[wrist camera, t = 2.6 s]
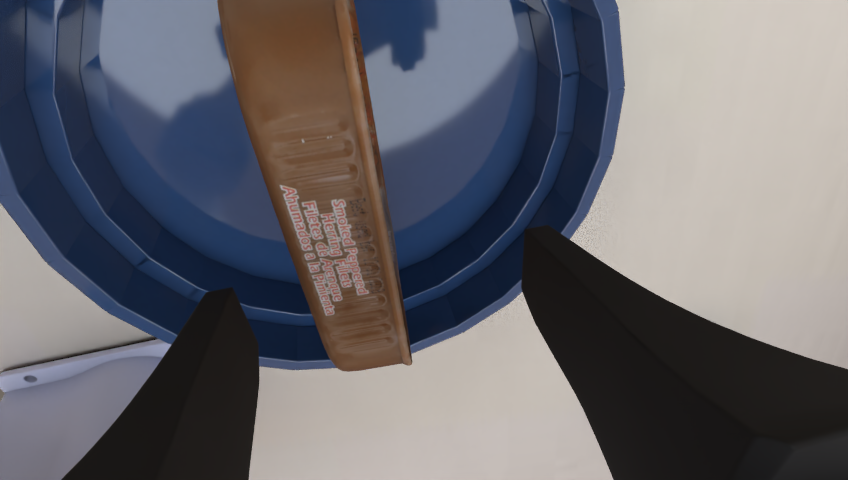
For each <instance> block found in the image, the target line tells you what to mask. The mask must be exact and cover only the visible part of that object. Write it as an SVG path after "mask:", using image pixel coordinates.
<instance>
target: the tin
mask: <svg viewBox="0 0 848 480" xmlns="http://www.w3.org/2000/svg"><path fill="white" fill-rule="evenodd" d="M217 3H218V11H219V17H220V23H221V28H222V34H223V39H224V44H225V49H226V54H227V58H228V62H229V66H230V70H231V74H232V78H233V82H234V86H235V90H236V94H237V98H238V101H239V105H240V109H241V112H242V115H243V118H244V122H245V125H246V128H247V131H248V134H249V137H250V140H251V143H252V147H253V149H254V152H255V155H256V158H257V160H258V163H259V166H260V169H261V172H262V175H263V178H264V181H265V184H266V187H267V190H268V193H269V196H270V199H271V202H272V205H273V208H274V211H275V213H276V216H277V218H278V221H279V224H280V228H281V230H282V233H283V236H284V239H285V242H286V245H287V248H288V250H289V253H290V256H291V258H292V261H293V264H294V266H295V269H296V272H297V275H298V278H299V281H300V283H301V286H302V289H303V292H304V294H305V297H306V300H307V302H308V305H309V308H310V311H311V314H312V316H313V318H314V321H315V324H316V327H317V329H318V332H319V335H320V337H321V340H322V343H323V345H324V348H325V350H326V352H327V354H328V356H329V358H330V360H331V361H332V363H333V364H334V365H335V366H336V367H337V368H338V369H340V370H342V371H359V370H366V369H372V368H377V367H383V366H389V365H395V364H402V363H403V364H405V365H411V364H412V356H411V350H410V341H409V335H408V328H407V321H406V316H405V308H404V302H403V296H402V290H401V284H400V278H399V270H398V262H397V253H396V245H395V239H394V233H393V228H392V222H391V216H390V211H389V207H388V199H387V193H386V187H385V180H384V175H383V169H382V162H381V157H380V151H379V145H378V139H377V134H376V127H375V121H374V116H373V110H372V103H371V98H370V92H369V85H368V79H367V74H366V68H365V61H364V55H363V50H362V44H361V39H360V33H359V27H358V21H357V15H356V9H355V4H354V0H217Z"/></svg>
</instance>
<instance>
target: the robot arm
mask: <svg viewBox="0 0 848 480" xmlns="http://www.w3.org/2000/svg"><path fill="white" fill-rule="evenodd" d="M521 289H522V292H523V294H524V297H525V299H526V302H527V304H528V307H529V309H530V312H531V314H532V316H533V319H534V321H535V323H536V325H537V327H538V329H539V331H540V332H541V334H542V336H543V338H544V339H545V341H546V343H547V345H548V347H549V348H550V350H551V352H552V354H553V355H554V357H555V359H556V361H557V362H558V364H559V366H560V368H561V369H562V371H563V373H564V375H565V376H566V378H567V380H568V382H569V383H570V385H571V387H572V389H573V390H574V392H575V394H576V396H577V398H578V400H579V402H580V404H581V406H582V408H583V409H584V412H585V414H586V416H587V418H588V421H589V423H590V425H591V427H592V430H593V432H594V434H595V436H596V439H597V441H598V443H599V445H600V448H601V450H602V453H603V455H604V457H605V460H606V462H607V465H608V467H609V469H610V472H611V474H612V477H613V479H614V480H848V369H845V368H841V367H838V366H834V365H831V364H827V363H824V362H820V361H817V360H813V359H810V358H807V357H804V356H801V355H798V354H795V353H792V352H789V351H786V350H783V349H780V348H777V347H774V346H772V345H769V344H766V343H763V342H761V341H758V340H755V339H753V338H750V337H747V336H745V335H742V334H740V333H737V332H735V331H733V330H730V329H728V328H725V327H723V326H720V325H718V324H716V323H713V322H711V321H709V320H707V319H704V318H702V317H700V316H698V315H696V314H694V313H692V312H690V311H687V310H685V309H683V308H681V307H679V306H677V305H675V304H673V303H671V302H669V301H667V300H665V299H663V298H662V297H660V296H658V295H656V294H654V293H652V292H651V291H649V290H647V289H646V288H644V287H642V286H640V285H639V284H637V283H635V282H633V281H632V280H630V279H628V278H627V277H625V276H623V275H622V274H620V273H619V272H617V271H615V270H614V269H612V268H611V267H609V266H608V265H606V264H605V263H603V262H602V261H600V260H599V259H597V258H596V257H594V256H593V255H591V254H590V253H588V252H587V251H585V250H584V249H582V248H581V247H579V246H578V245H577V244H575V243H574V242H572V241H571V240H569V239H568V238H566V237H565V236H564V235H562V234H561V233H559V232H558V231H556V230H555V229H553V228H552V227H550V226H549V225H544V226H539V227H534V228H529V229H525V232H524V249H523V265H522V282H521ZM0 389H1V390H2V391H3V392H5V394H4V396H3V398H2V399H1V401H0V480H248V479H249V468H250V460H251V451H252V443H253V434H254V425H255V417H256V408H257V399H258V390H259V345H258V342H257V339H256V337H255V335H254V333H253V331H252V328H251V326H250V324H249V322H248V320H247V317H246V315H245V313H244V311H243V309H242V306H241V304H240V302H239V300H238V298H237V295H236V293H235V291H234V289H233V287H230V288H225V289H220V290H215V291H210V292H206V293H205V295H204V296H203V297H202V299H201V300H200V302H199V303H198V305H197V306H196V308H195V309H194V311H193V313H192V314H191V316H190V317H189V319H188V320H187V322H186V323H185V325H184V327H183V328H182V330H181V331H180V333H179V334H178V336H177V337H176V339H175V340H174V342H173V343H172V345H171V344H168V343H166V342H164V341H162V340H160V339H156V340H151V341H147V342H142V343H137V344H132V345H128V346H123V347H118V348H113V349H109V350H104V351H99V352H94V353H89V354H85V355H80V356H75V357H70V358H66V359H61V360H56V361H51V362H47V363H42V364H37V365H32V366H28V367H23V368H18V369H13V370H9V371H4V372H1V373H0Z"/></svg>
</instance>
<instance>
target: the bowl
mask: <svg viewBox="0 0 848 480" xmlns="http://www.w3.org/2000/svg"><path fill="white" fill-rule="evenodd" d="M354 4H355V9H356V15H357V21H358V27H359V33H360V39H361V44H362V50H363V55H364V61H365V68H366V74H367V79H368V85H369V92H370V98H371V103H372V110H373V116H374V121H375V127H376V134H377V139H378V145H379V151H380V157H381V162H382V169H383V175H384V180H385V187H386V193H387V199H388V207H389V211H390V216H391V222H392V228H393V233H394V239H395V245H396V253H397V262H398V270H399V278H400V284H401V290H402V296H403V302H404V308H405V316H406V321H407V328H408V335H409V341H410V350H411V354H412V353H415V352H417V351H420V350H422V349H424V348H427V347H429V346H432V345H434V344H437V343H439V342H441V341H444V340H446V339H449V338H451V337H454V336H456V335H459V334H461V333H462V332H465V331H467V330H468V329H470V328H471V327H473V326H474V325H476V324H478V323H479V322H481V321H482V320H484V319H485V318H487V317H489V316H490V315H492V314H493V313H495V312H497V311H498V310H500V309H501V308H503V307H504V306H506V305H508V304H509V303H510V302H512V301H513V300H514V299H515V298H516V297H517V296H518V295H519V294H520V293H521V292H522V289H521V282H522V265H523V249H524V232H525V229H529V228H534V227H539V226H544V225H549V226H550V227H552V228H553V229H555V230H556V231H558V232H559V233H561V234H562V235H564V236H565V237H566V238H568V239H569V240H570V238H571V237H572V236H573V234H574V233H575V231H576V230H577V229H578V227H579V226H580V224H581V223H582V222H583V220H584V219H585V218H586V216H587V214H588V212H589V210H590V208H591V205H592V203H593V201H594V199H595V196H596V194H597V192H598V189H599V187H600V185H601V182H602V180H603V178H604V176H605V173H606V171H607V169H608V166H609V164H610V162H611V159H612V155H613V153H614V147H615V141H616V136H617V130H618V124H619V119H620V113H621V107H622V102H623V96H624V90H625V89H624V87H625V82H624V70H623V58H622V46H621V33H620V21H619V12H618V6H617V3H616V1H615V0H354ZM0 203H1V204H2V205H3V207H4V208H5V209H6V211H7V212H8V213H9V214H10V216H11V217H12V218H13V220H14V221H15V222H16V224H17V225H18V226H19V228H20V229H21V230H22V232H23V233H24V234H25V235H26V237H27V238H28V239H29V241H30V242H31V243H32V245H33V246H34V247H35V249H36V250H37V251H38V253H39V254H40V255H41V257H42V258H43V259H44V260H45V262H47V264H48V265H49V266H51V267H52V268H53V269H54V270H56V271H57V272H58V273H59V274H60V275H62V276H63V277H64V278H65V279H67V280H68V281H69V282H70V283H71V284H73V285H74V286H75V287H76V288H78V289H79V290H80V291H81V292H83V293H84V294H85V295H86V296H87V297H89V298H90V299H91V300H92V301H94V302H95V303H96V304H97V305H98V306H100V307H101V308H102V309H103V310H105V311H107V312H108V313H109V314H111V315H113V316H115V317H117V318H119V319H121V320H123V321H125V322H127V323H129V324H131V325H133V326H135V327H136V328H138V329H140V330H142V331H144V332H146V333H148V334H150V335H152V336H154V337H156V338H158V339H160V340H162V341H164V342H166V343H168V344H171V345H172V343H173V342H174V340H175V339H176V337H177V336H178V334H179V333H180V331H181V330H182V328H183V327H184V325H185V323H186V322H187V320H188V319H189V317H190V316H191V314H192V313H193V311H194V309H195V308H196V306H197V305H198V303H199V302H200V300H201V299H202V297H203V296H204V295H205V293H206V292H210V291H215V290H220V289H225V288H230V287H233V289H234V291H235V293H236V295H237V298H238V300H239V302H240V304H241V306H242V309H243V311H244V313H245V315H246V317H247V320H248V322H249V324H250V326H251V328H252V331H253V333H254V335H255V337H256V339H257V342H258V345H259V366H261V367H270V368H279V369H287V370H295V369H296V370H309V369H326V368H337V367H336V366H335V365H334V364H333V363H332V361H331V360H330V358H329V356H328V354H327V352H326V350H325V348H324V345H323V343H322V340H321V337H320V335H319V332H318V329H317V327H316V324H315V321H314V318H313V316H312V314H311V311H310V308H309V305H308V302H307V300H306V297H305V294H304V292H303V289H302V286H301V283H300V281H299V278H298V275H297V272H296V269H295V266H294V264H293V261H292V258H291V256H290V253H289V250H288V248H287V245H286V242H285V239H284V236H283V233H282V230H281V228H280V224H279V221H278V218H277V216H276V213H275V211H274V208H273V205H272V202H271V199H270V196H269V193H268V190H267V187H266V184H265V181H264V178H263V175H262V172H261V169H260V166H259V163H258V160H257V158H256V155H255V152H254V149H253V147H252V143H251V140H250V137H249V134H248V131H247V128H246V125H245V122H244V118H243V115H242V112H241V109H240V105H239V101H238V98H237V94H236V90H235V86H234V82H233V78H232V74H231V70H230V66H229V62H228V58H227V54H226V49H225V44H224V39H223V34H222V28H221V23H220V17H219V11H218V3H217V0H0Z"/></svg>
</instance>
